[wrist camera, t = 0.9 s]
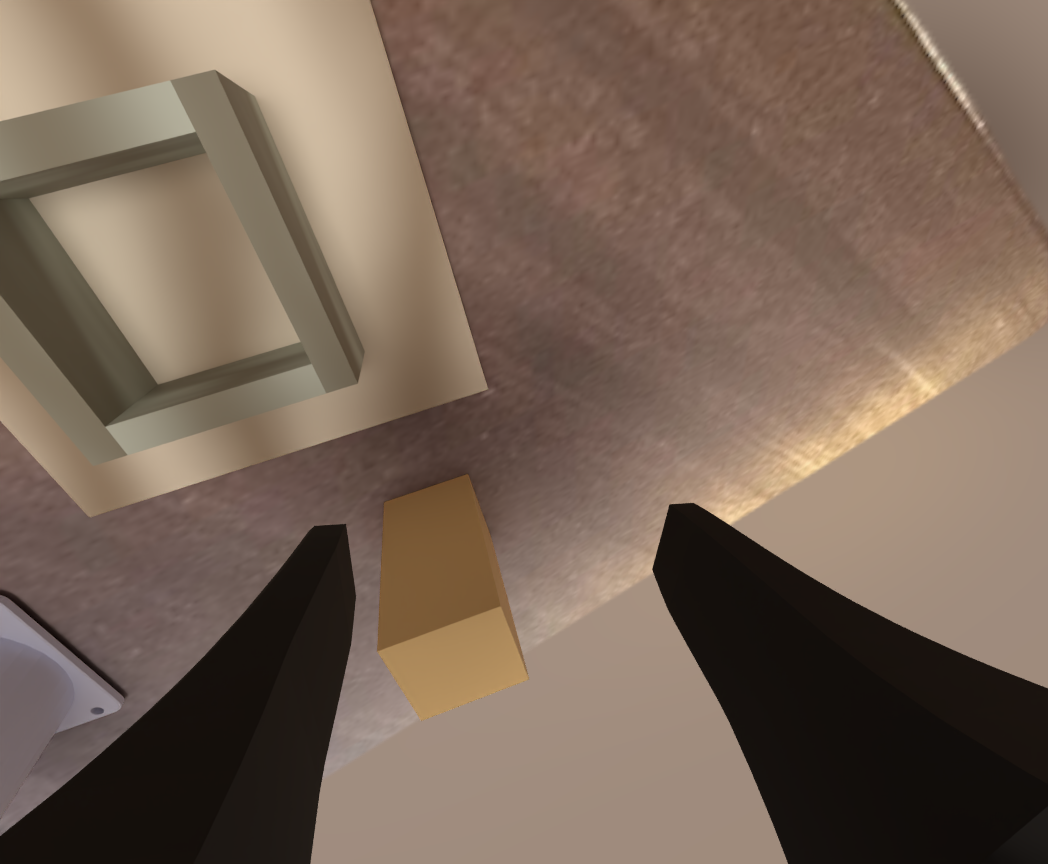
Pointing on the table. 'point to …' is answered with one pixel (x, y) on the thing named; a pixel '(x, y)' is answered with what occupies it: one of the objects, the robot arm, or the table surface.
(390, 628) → the peg
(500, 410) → the table surface
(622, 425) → the table surface
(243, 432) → the socket stand
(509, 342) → the table surface
